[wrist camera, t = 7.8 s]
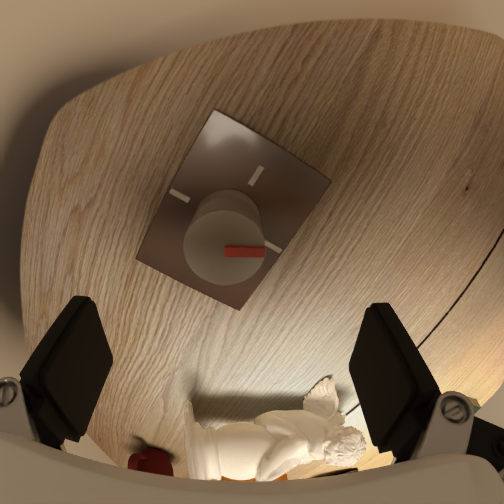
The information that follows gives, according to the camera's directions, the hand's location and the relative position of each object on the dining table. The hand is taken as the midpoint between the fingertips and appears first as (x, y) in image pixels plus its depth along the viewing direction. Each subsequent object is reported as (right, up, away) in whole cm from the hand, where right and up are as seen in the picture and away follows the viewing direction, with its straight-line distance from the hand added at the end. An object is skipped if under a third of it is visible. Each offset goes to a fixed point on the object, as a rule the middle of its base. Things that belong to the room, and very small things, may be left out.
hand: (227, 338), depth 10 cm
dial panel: (-1, +6, +13) cm, 14 cm away
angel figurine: (+3, -15, +23) cm, 28 cm away
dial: (-1, +5, +10) cm, 11 cm away
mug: (-16, -29, +29) cm, 44 cm away
